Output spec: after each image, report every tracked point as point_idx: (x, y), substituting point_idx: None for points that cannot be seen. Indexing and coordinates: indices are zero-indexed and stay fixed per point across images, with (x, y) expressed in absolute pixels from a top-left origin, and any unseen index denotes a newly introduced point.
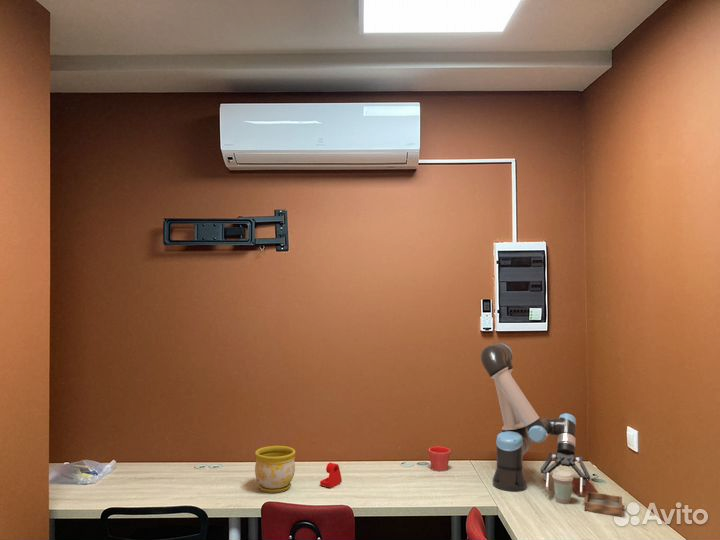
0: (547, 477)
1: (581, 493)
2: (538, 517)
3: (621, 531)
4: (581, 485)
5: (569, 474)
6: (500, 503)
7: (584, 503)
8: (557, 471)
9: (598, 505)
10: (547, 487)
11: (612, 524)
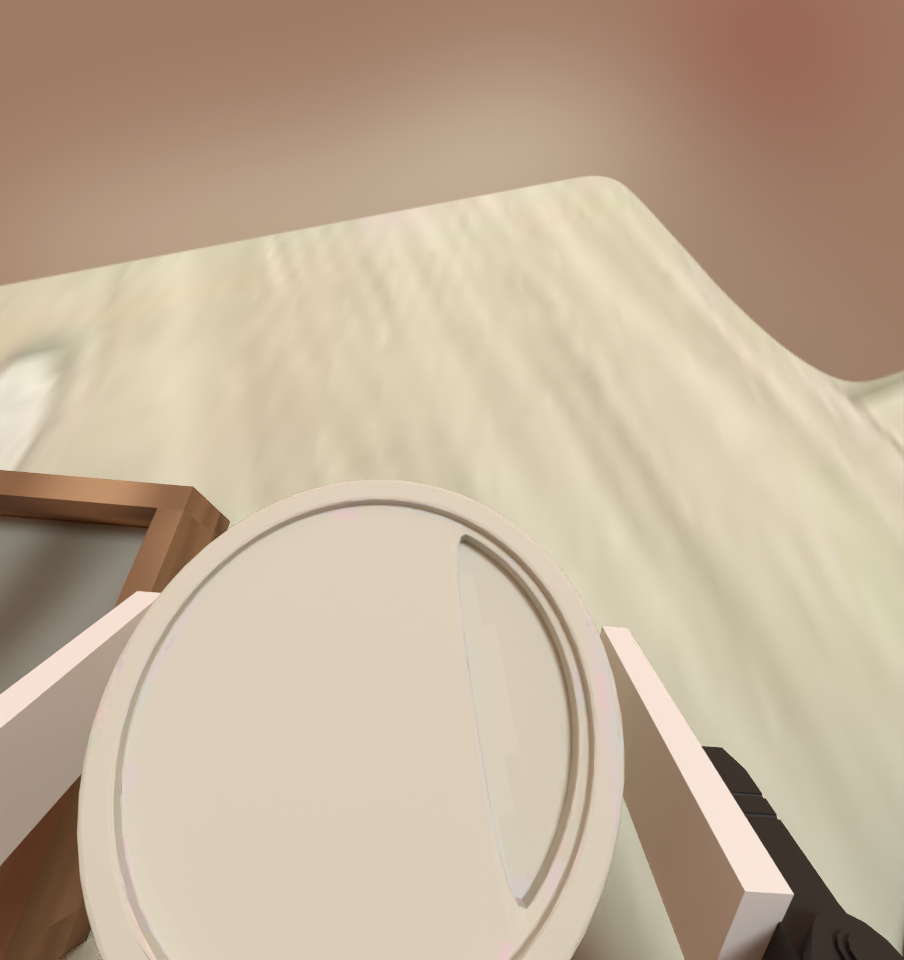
0: (695, 762)
1: None
2: (560, 322)
3: (82, 287)
4: (57, 662)
5: (176, 701)
6: (862, 447)
7: (197, 492)
8: (524, 907)
9: (63, 478)
10: (605, 640)
11: (92, 356)
